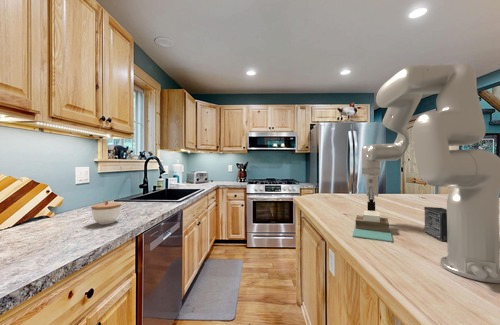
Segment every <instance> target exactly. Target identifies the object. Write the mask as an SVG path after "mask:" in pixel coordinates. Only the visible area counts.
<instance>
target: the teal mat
mask: <svg viewBox="0 0 500 325" xmlns="http://www.w3.org/2000/svg"><path fill="white" fill-rule="evenodd" d="M351 236H352V237H353V238H356V239H364V240H365V239H366V240H372V241H374V240H375V241H379V242H380V241H381V242H388V243H393V237H392V234H391V228H389V232H381V231H372V230H364V229H356V224H355V225H354V228H353V231H352V235H351Z"/></svg>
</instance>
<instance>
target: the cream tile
mask: <svg viewBox="0 0 500 325" xmlns="http://www.w3.org/2000/svg"><path fill="white" fill-rule="evenodd" d="M362 216H363V220H364V221H370V222H380V217H381V213H380V211H368V210H364V211H363V215H362Z"/></svg>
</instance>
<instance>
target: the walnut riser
mask: <svg viewBox="0 0 500 325" xmlns="http://www.w3.org/2000/svg"><path fill="white" fill-rule="evenodd" d="M389 222H390V221H389V218H388V217H381V216H380V222H370V221H364V220H363V215H358V214H357V215H356V218H355V225H356V229H364V230H372V231H381V232H389V229H390V224H389Z"/></svg>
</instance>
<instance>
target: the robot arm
mask: <svg viewBox="0 0 500 325" xmlns="http://www.w3.org/2000/svg"><path fill="white" fill-rule="evenodd" d="M436 94H437V97H436V100H435V106H436V110H430V111H426V112H424V113H421V114H420V115H419V116H418V117H417V118H416V119H415V121H414V123H413V126H412V129H411V136H412V137H411V136H410V133H409V131H408V128H407V127H408V124H409V123H410V121H411V118H412V117H413V115H414V113H415V112H416V109H417V107H418V106H419V103H420V102H421V99H422V98H423V95H436ZM375 103H376V106H377V107H379V108H385V109H386V108H387V109H386V111H385V113H384V117H383V119H382V125H383V126H384V127H385V128H387V129H388V130H390V131H393V132H395V133H397V136H396V138H395V140H394V142H393V143H374V144H370V145H363V147H362V148H361V175H363V176H364V188H365V195H366V196H367V204H366V205H367V211H374V212H376V201H375V200H376V198H375V197H379V179H378V178H379V177H378V176H380V175H381V162H389V161H391V162H394V161H398V160H400V159H401V158H403V156H404V155H405V153H406V151H407V149H408V148H409V146H410V137H411V138H412V144H413V145H412V146H413V150H414V157H415V163H416V168H417V172H418V175H419V178H420V179H421V180H422V181H423V182H424V183H425V184H426V185H428V186H431V187H440V188H441V187H443V188H446V187H448V188H450V187H452V188H451V190H450V192H449V194H448V196H447V199H446V209H447V241H446V243H447V255H446V256H442V257H441V258H440V259H439V260H440V265H441V266H442V267H443V268H444V269H446V270H447V271H449V272H451V273H453V274H456V275H458V276H460V277H464V278H466V279H471V280H474V281H477V282H478V281H479V282H484V283H491V284H500V220H499V219H500V216H499V214H500V156H499V155H497V154H496V153H493V152H491V151H487V150H485V149H484V150H483V149H450V147H453V146H454V147H456V146H457V147H458V146H459V147H461V146H469V145H471V146H472V145H474V144H477V143H480V142H481V141H482V140H483V139H484V137H485V136H486V131H487V130H486V121H485V118H484V114H483V110H482V105H481V101H480V98H479V94H478V88H477V73H476V71H475V69H474V67H473V66H471V65H469V64H467V63H453V64H452V63H450V64H421V65H420V64H418V65H417V64H415V65H414V64H413V65H407V66H406V67H403V68H402V69H400V70H399V71H398V72H396V73H395V74H394V75H392V77H390V78H388V80H386V81H385V82H384V83H383V85H382V86H381V87H380V88H379V89H378V91H377V93H376V97H375Z"/></svg>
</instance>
